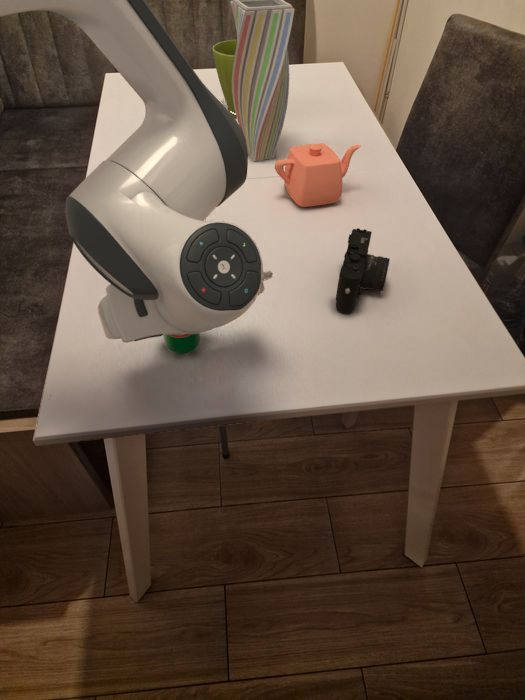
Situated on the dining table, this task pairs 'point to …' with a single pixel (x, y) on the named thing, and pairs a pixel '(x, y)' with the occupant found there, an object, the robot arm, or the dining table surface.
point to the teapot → (314, 173)
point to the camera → (359, 271)
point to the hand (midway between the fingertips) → (176, 307)
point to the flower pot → (225, 69)
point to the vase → (261, 72)
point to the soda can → (182, 342)
